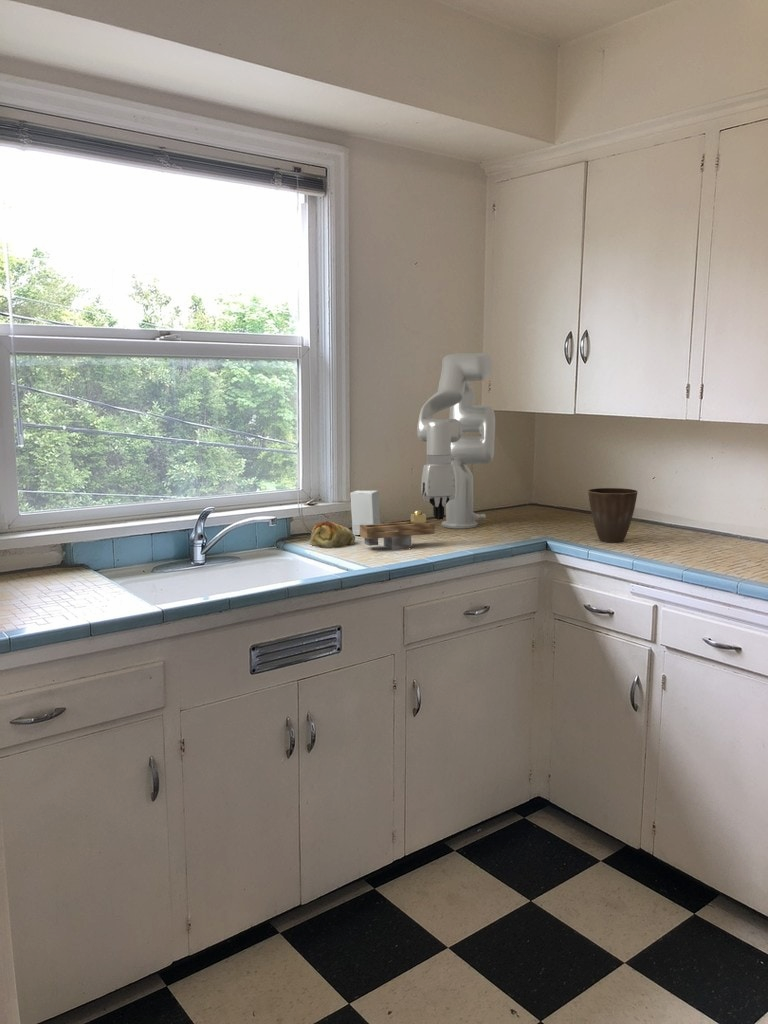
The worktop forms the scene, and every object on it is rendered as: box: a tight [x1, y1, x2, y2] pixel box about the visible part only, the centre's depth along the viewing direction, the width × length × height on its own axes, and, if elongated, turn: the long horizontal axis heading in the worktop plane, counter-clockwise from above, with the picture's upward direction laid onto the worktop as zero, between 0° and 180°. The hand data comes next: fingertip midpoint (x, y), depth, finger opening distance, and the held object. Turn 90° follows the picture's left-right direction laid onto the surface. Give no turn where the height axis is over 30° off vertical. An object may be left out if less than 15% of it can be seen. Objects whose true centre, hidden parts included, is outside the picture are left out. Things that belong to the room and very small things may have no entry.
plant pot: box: [587, 487, 639, 544], centre depth 256 cm, size 15×15×16 cm
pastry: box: [309, 520, 356, 549], centre depth 255 cm, size 14×12×8 cm
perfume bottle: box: [410, 510, 427, 524], centre depth 251 cm, size 4×3×5 cm
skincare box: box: [349, 489, 381, 536], centre depth 271 cm, size 8×6×15 cm
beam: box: [359, 519, 436, 551], centre depth 250 cm, size 22×8×7 cm, turn 110°
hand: (438, 518), depth 254 cm, fingers closed
